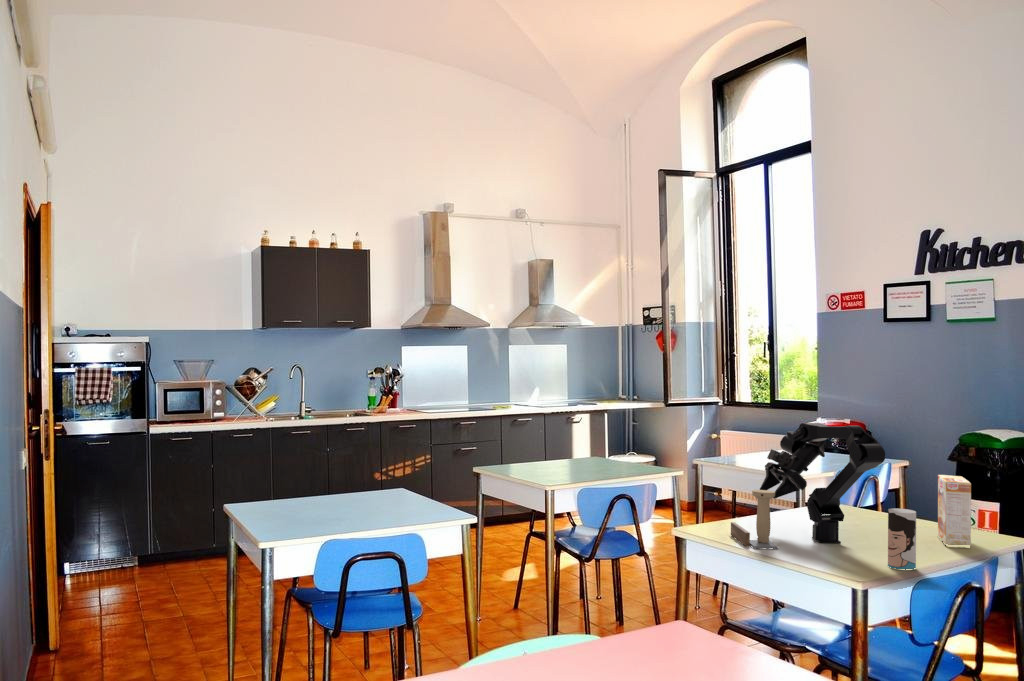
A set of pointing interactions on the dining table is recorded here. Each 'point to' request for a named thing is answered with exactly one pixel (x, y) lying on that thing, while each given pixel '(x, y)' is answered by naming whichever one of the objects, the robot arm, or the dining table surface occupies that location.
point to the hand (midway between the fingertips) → (766, 494)
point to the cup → (901, 538)
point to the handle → (763, 514)
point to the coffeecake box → (954, 510)
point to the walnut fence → (740, 534)
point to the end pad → (762, 544)
